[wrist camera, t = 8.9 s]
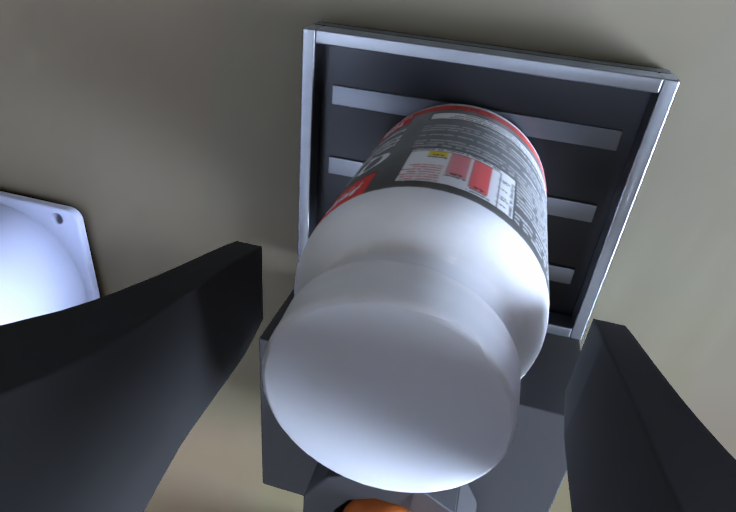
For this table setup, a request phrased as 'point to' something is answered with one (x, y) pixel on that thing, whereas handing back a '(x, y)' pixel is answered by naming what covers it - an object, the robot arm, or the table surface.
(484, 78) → the drip tray
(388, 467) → the pill bottle
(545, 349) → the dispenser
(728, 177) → the table surface
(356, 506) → the button
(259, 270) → the robot arm
